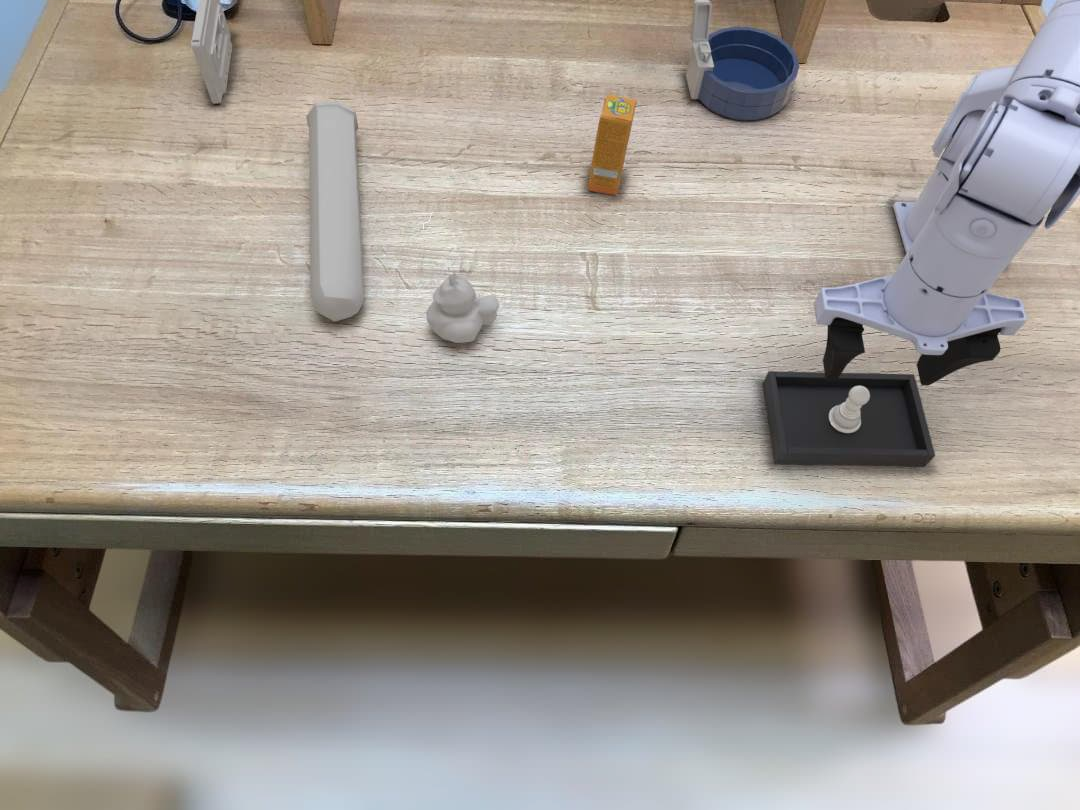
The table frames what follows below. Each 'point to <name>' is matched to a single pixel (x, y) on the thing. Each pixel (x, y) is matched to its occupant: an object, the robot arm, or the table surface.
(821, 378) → the tray
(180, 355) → the table surface
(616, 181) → the supplement box
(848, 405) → the chess pawn
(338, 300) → the tube
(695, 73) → the lighter
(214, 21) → the cassette
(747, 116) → the bowl
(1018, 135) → the robot arm
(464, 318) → the rubber duck
